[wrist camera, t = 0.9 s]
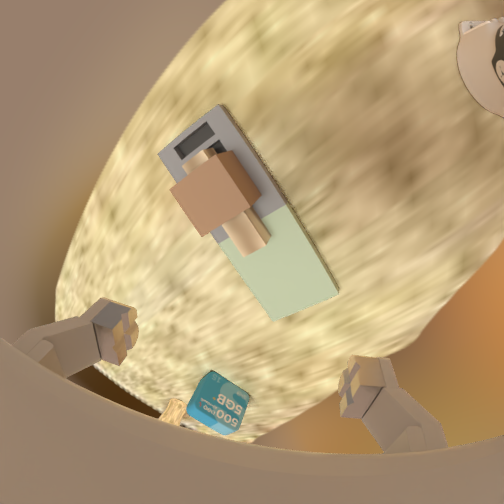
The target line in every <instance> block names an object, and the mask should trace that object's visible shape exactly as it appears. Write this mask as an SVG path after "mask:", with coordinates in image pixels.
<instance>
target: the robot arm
mask: <svg viewBox="0 0 504 504" xmlns="http://www.w3.org/2000/svg"><path fill="white" fill-rule="evenodd" d="M470 27H472V29H471V28H470ZM459 32H460V42H459V45H458V49H457V62H458V67H459V71H460V74H461V77H462V79H463V81H464V83H465V85H466V87H467V89H468V90H469V92H470V93H471V95H472V96H473V97H474V98H475V100H476V101H477V102H478V103H479V104H480V105H481V106H483V107H484V108H485V109H487V110H488V111H490V112H492V113H494V114H497V115H500V116H502V117H503V118H504V17H500V18H498V20H497V18H493V19H491V21H463V22H460V23H459ZM136 318H137V310H136V309H135V308H134V307H131V306H128V305H125V304H122V303H119V302H116V301H113V300H110V299H107V298H104V297H103V298H100V299H99V300H98V301H97V302H96V303H94V304H93V305H92V306H91V307H90V308H89V309H88V310H87V311H86V312H85V313H84V314H82V315H81V316H80V317H77V316H76V317H72V318H69V319H65V320H61V321H58V322H54V323H51V324H47V325H44V326H40V327H36V328H32V329H29V330H28V331H27V332H26V333H24V334H23V335H22V336H21V337H20V338H19V339H18V340H17V341H16V342H14V343H13V344H12V345H11V344H9V343H8V342H6V341H5V340H4V339H2V338H1V337H0V504H504V435H502V436H498V437H495V438H491V439H487V440H483V441H479V442H475V443H470V444H465V445H460V446H454V447H448V445H447V441H446V438H445V435H444V432H443V428H442V425H441V423H440V422H439V421H437V420H436V419H435V418H434V417H433V416H432V415H431V414H430V413H429V412H428V411H427V410H425V409H424V408H423V407H422V406H421V405H420V404H419V403H418V402H417V401H416V400H415V399H413V398H412V397H411V396H410V395H409V394H408V393H407V392H406V391H405V390H404V389H403V388H399V386H398V382H397V379H396V376H395V373H394V370H393V367H392V364H391V361H390V359H389V358H381V357H367V356H358V355H351V357H350V358H349V360H348V362H347V364H348V368H347V369H345V370H344V371H343V372H342V375H341V377H340V380H339V386H338V392H339V395H340V396H341V397H342V400H341V401H340V403H339V404H340V415H341V417H347V418H359V419H361V420H362V421H363V423H364V424H365V426H366V427H367V429H368V430H369V431H370V433H371V434H372V436H373V437H374V438H375V440H376V441H377V443H378V444H379V445H380V447H381V448H382V450H383V451H384V453H383V454H334V453H332V454H331V453H318V452H306V451H295V450H287V449H280V448H273V447H266V446H260V445H254V444H249V443H244V442H239V441H234V440H229V439H225V438H221V437H217V436H213V435H209V434H205V433H201V432H197V431H194V430H190V429H187V428H183V427H180V426H177V425H174V424H171V423H168V422H165V421H162V420H159V419H156V418H153V417H150V416H147V415H145V414H142V413H139V412H137V411H134V410H132V409H129V408H127V407H124V406H122V405H120V404H117V403H115V402H112V401H110V400H108V399H106V398H103V397H101V396H99V395H97V394H95V393H93V392H91V391H88V390H87V389H85V388H83V387H81V386H79V385H77V384H75V383H73V382H71V381H69V380H67V379H66V377H68V376H70V375H72V374H74V373H77V372H79V371H81V370H83V369H85V368H86V367H89V366H91V365H93V364H95V363H97V362H99V361H101V359H102V360H104V361H107V362H110V363H112V364H115V365H118V366H120V364H121V363H122V362H123V360H124V359H125V358H126V356H127V351H126V350H129V349H131V348H133V346H134V345H135V344H136V341H137V338H138V332H139V330H138V325H137V324H136V322H135V321H134V320H135V319H136Z"/></svg>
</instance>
